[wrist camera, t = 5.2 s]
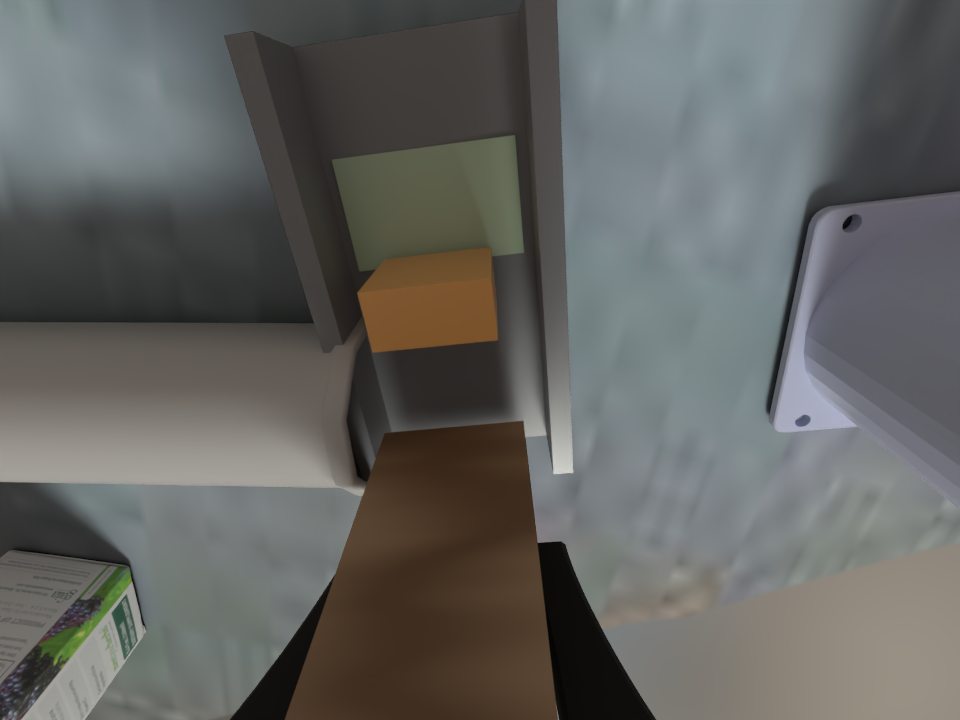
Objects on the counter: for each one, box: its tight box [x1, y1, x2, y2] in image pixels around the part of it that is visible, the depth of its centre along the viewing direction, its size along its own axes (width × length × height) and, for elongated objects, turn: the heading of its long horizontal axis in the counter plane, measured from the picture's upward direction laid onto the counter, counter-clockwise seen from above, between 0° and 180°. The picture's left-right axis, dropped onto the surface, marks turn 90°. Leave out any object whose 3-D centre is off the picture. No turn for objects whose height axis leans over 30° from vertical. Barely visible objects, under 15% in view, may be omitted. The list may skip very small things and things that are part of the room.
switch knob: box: [357, 247, 498, 353], centre depth 12 cm, size 2×3×3 cm, turn 97°
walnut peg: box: [285, 421, 558, 720], centre depth 10 cm, size 4×4×8 cm
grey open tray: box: [224, 0, 573, 481], centre depth 13 cm, size 12×7×4 cm, turn 7°
